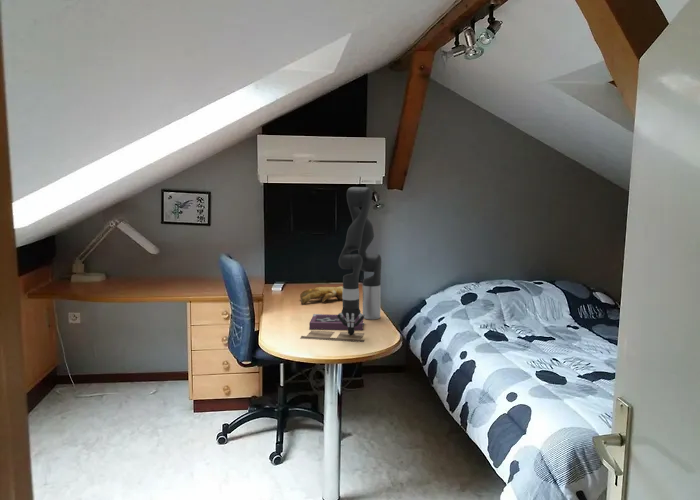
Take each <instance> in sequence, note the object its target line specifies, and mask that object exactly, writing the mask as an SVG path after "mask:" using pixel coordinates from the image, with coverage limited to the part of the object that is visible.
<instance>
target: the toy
mask: <svg viewBox="0 0 700 500" xmlns="http://www.w3.org/2000/svg"><path fill="white" fill-rule="evenodd" d="M342 295H343V285H340V286H336V287H335V286H317V287H313V288H308V289H305V290H304V291H301V293H300V303H301V304H302V305H305V304H308V302H310V300H317V299H320V300H321V302H322V303H324V302H325V301H326V300H329V299H333V298H336V299H337V300H339V301H340V300H343V298H342Z"/></svg>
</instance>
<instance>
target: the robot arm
mask: <svg viewBox="0 0 700 500" xmlns="http://www.w3.org/2000/svg"><path fill="white" fill-rule="evenodd" d="M372 198H373V193H372V189H371V188H370V187H367V186H366V187H365V186H352V187H349V188H348V189H346V202H347V205H348V209H349V212H350V213H349V214H350V216H351V219H352V222H351V223H350V225H349V227H348V229H347V232H346V238H345V243H344V245H343V248H342V250H341V253H340V255H339V257H338V266H339V268H341V269H342V270H352V273H346V274H344V275H343V277H342V287H343V295H342V310H341V312H339V313H338V314H336V315H337V317H338V318H339V319H340V321H341V322H342V323H343V325H344V326H347V327H348V330H347V332H348V334H349V335H353V334H354V333H356V332H355V331H356V330H355V326H358V324H359V323H360V322H361V321H362V320H363V318H364V319H366V320H378V319H381V287H382V285H381V283H382V281H381V280H382V277H381V275H382V274H381V273H382V256H381V254H377V253H367V252H366V251H367V249H368V248H369V246H370V245H371V244H372V242H373V240H374V237H375V234H374V226H373V224H372V222H371V220H370V219H369V218H368V216H369V211H370V208H371V204H372V201H373V200H372ZM360 208H361V209H360ZM354 251H357V252H358V253H352V252H354ZM361 271H362V272H364V273H365V272H366V273H367V272H368V273H373V274H372V275H371V276H369V277H366V278H363V280H362V312H361V310H360V288H359V287H360V285H359V278H360V274H361ZM343 315H344V317H345V318H346V319H347V321H346V320H345V319H344V318H343ZM358 315H359V318H360V319H359V320H358V321H357V322H356V323H355V319H356V318H357V317H358ZM363 321H364V320H363Z"/></svg>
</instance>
